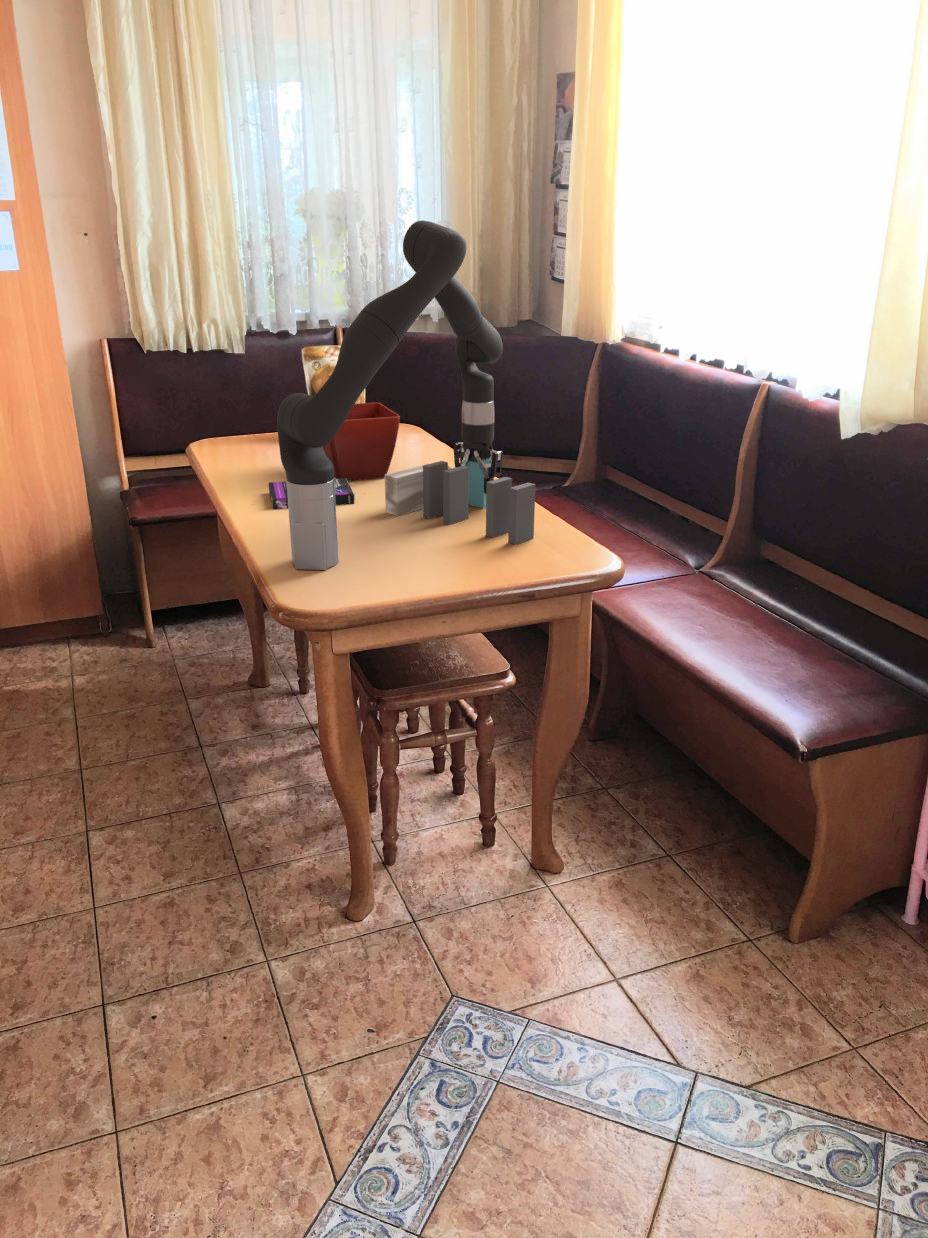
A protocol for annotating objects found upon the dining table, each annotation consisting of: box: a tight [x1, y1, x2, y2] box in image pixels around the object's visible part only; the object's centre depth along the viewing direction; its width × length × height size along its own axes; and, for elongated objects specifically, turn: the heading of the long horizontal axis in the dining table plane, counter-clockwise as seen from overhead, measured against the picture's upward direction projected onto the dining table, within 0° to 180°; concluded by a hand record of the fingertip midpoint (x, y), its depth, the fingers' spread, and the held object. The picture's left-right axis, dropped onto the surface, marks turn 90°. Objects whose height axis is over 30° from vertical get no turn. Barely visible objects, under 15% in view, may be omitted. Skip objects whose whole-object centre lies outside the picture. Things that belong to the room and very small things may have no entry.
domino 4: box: [485, 476, 513, 539], centre depth 209 cm, size 2×6×12 cm, turn 136°
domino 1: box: [422, 460, 449, 519], centre depth 221 cm, size 2×6×12 cm, turn 136°
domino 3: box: [466, 458, 490, 509], centre depth 228 cm, size 2×6×12 cm, turn 46°
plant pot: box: [323, 402, 401, 482], centre depth 252 cm, size 19×19×17 cm
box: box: [268, 478, 355, 510], centre depth 235 cm, size 14×4×20 cm
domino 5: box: [507, 482, 536, 546], centre depth 205 cm, size 2×6×12 cm, turn 136°
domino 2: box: [443, 466, 469, 525], centre depth 217 cm, size 2×6×12 cm, turn 136°
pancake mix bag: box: [300, 344, 366, 404], centre depth 285 cm, size 7×19×28 cm, turn 111°
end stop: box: [384, 463, 428, 517], centre depth 227 cm, size 4×14×9 cm, turn 136°
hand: (477, 489), depth 229 cm, fingers open, 6 cm apart
